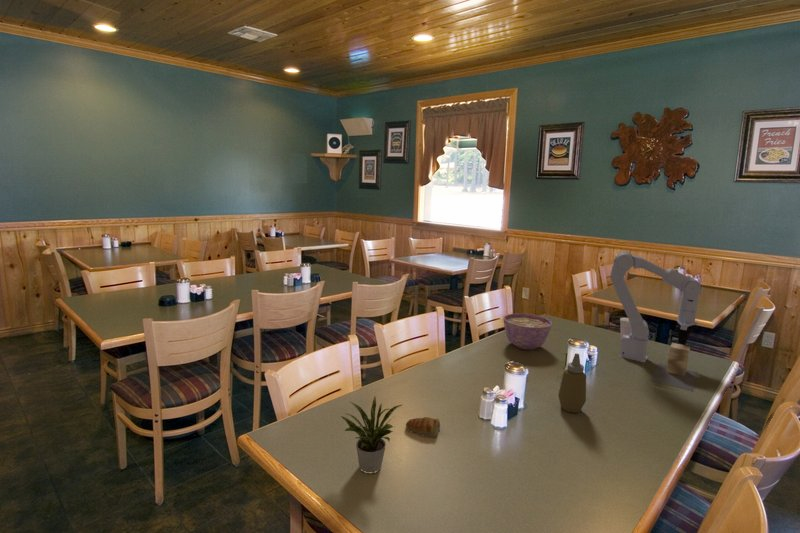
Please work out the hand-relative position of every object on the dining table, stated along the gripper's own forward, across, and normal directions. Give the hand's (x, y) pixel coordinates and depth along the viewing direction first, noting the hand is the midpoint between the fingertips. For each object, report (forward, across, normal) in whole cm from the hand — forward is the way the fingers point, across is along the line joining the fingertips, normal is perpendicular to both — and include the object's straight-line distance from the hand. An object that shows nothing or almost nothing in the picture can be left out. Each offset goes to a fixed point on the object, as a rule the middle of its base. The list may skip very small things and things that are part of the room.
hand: (682, 343), depth 178 cm
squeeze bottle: (+10, -65, +23) cm, 70 cm away
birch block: (+9, -9, 0) cm, 13 cm away
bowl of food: (+10, -21, +55) cm, 60 cm away
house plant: (+10, -126, +52) cm, 137 cm away
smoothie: (+10, +19, +23) cm, 31 cm away
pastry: (+10, -105, +51) cm, 117 cm away
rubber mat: (+9, -14, 0) cm, 17 cm away
